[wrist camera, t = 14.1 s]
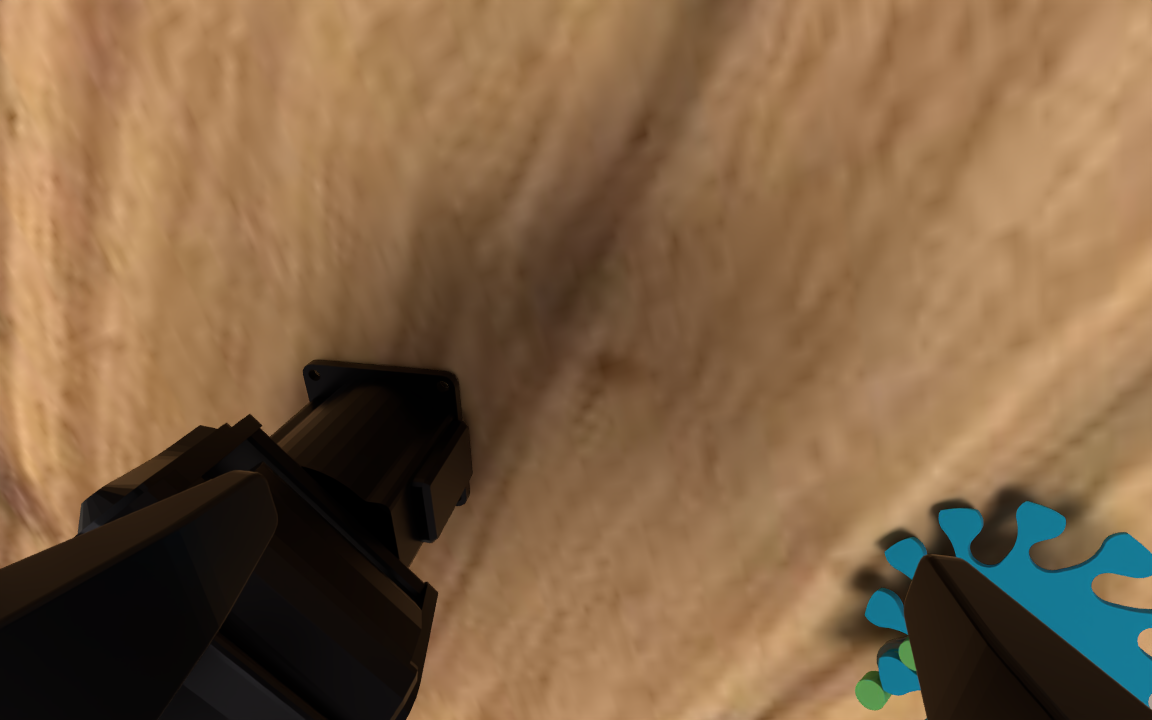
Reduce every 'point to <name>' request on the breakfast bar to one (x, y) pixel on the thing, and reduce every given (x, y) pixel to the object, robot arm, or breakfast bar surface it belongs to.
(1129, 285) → the breakfast bar surface
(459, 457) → the robot arm
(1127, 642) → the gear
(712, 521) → the breakfast bar surface
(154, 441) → the breakfast bar surface
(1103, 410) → the breakfast bar surface
